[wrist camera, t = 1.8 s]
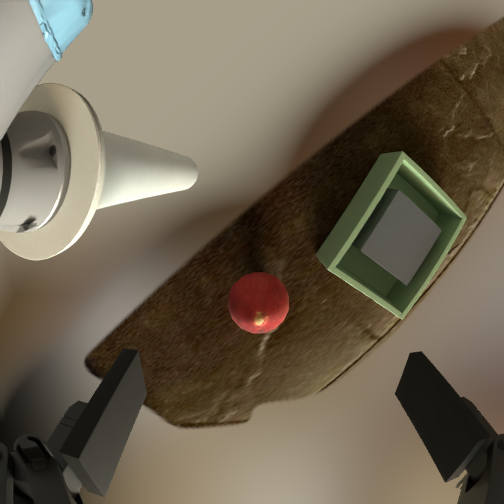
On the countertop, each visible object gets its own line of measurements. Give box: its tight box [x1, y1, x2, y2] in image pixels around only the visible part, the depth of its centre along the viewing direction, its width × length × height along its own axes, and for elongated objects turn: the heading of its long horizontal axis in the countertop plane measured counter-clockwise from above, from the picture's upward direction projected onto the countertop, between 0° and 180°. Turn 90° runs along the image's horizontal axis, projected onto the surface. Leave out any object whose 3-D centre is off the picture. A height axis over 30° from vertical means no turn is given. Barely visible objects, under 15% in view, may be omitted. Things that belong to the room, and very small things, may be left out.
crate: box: [316, 151, 467, 320], centre depth 28 cm, size 11×13×5 cm
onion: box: [229, 272, 289, 333], centre depth 28 cm, size 6×6×8 cm
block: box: [351, 188, 442, 285], centre depth 27 cm, size 7×7×4 cm
